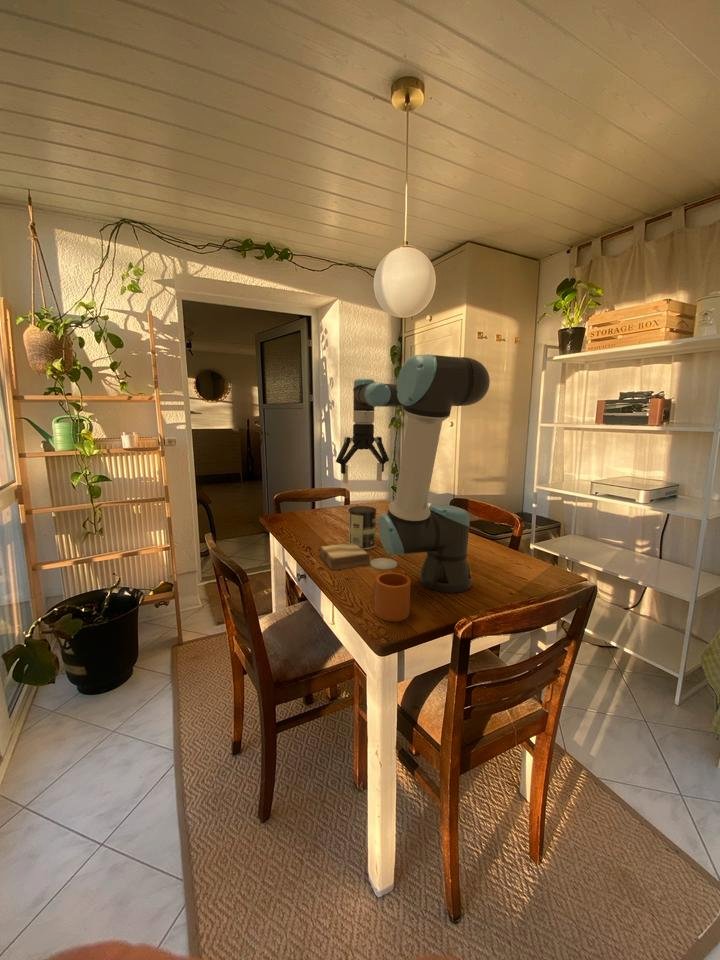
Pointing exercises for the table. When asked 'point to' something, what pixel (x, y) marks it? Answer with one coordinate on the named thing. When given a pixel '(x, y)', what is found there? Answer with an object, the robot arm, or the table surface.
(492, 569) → the table surface
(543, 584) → the table surface
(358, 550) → the block
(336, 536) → the table surface
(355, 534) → the coffee can
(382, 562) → the felt coaster
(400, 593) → the mug
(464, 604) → the table surface
